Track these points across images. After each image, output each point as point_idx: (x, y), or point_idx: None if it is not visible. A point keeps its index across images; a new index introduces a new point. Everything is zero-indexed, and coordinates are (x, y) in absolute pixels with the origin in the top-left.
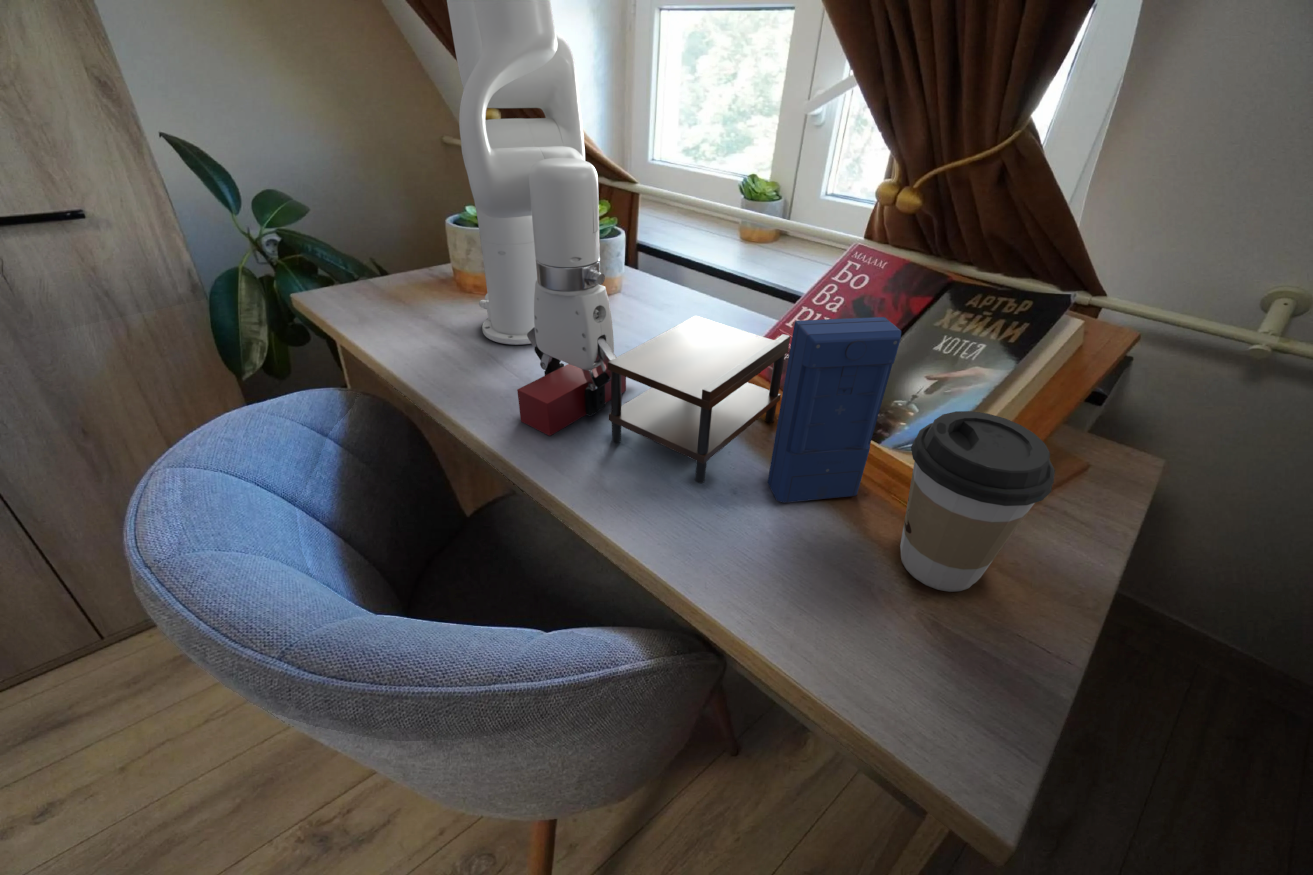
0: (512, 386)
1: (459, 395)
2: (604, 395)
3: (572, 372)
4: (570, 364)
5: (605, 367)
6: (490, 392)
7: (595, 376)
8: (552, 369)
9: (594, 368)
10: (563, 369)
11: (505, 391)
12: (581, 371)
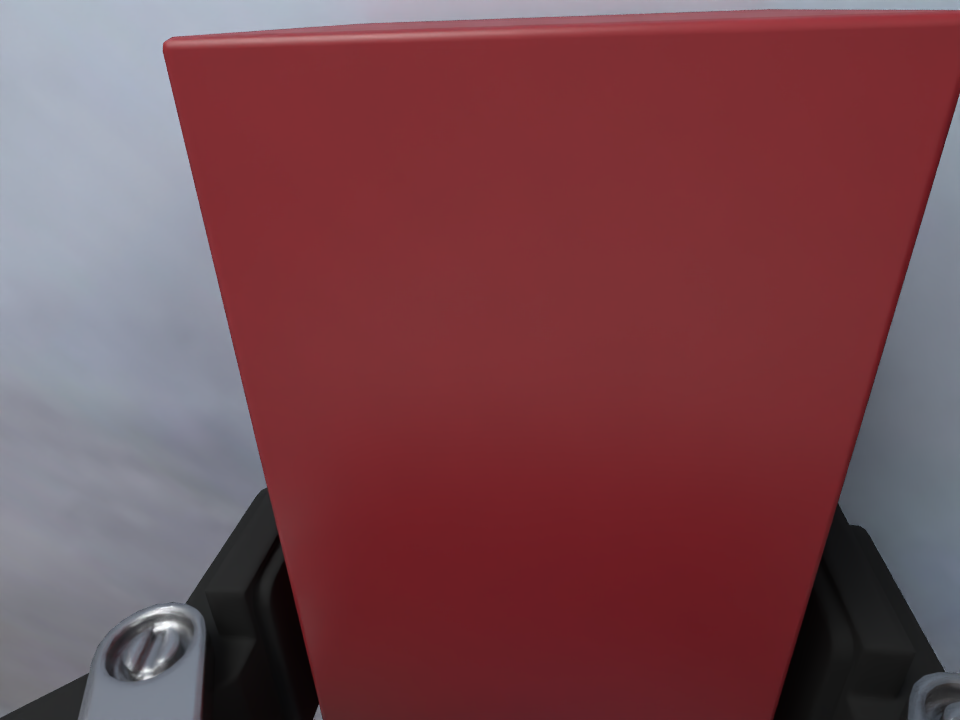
0: (66, 516)
1: (25, 685)
2: (903, 604)
3: (486, 709)
4: (322, 607)
5: (751, 460)
6: (71, 610)
7: (770, 669)
8: (274, 709)
9: (628, 550)
10: (367, 706)
11: (102, 569)
12: (547, 661)
